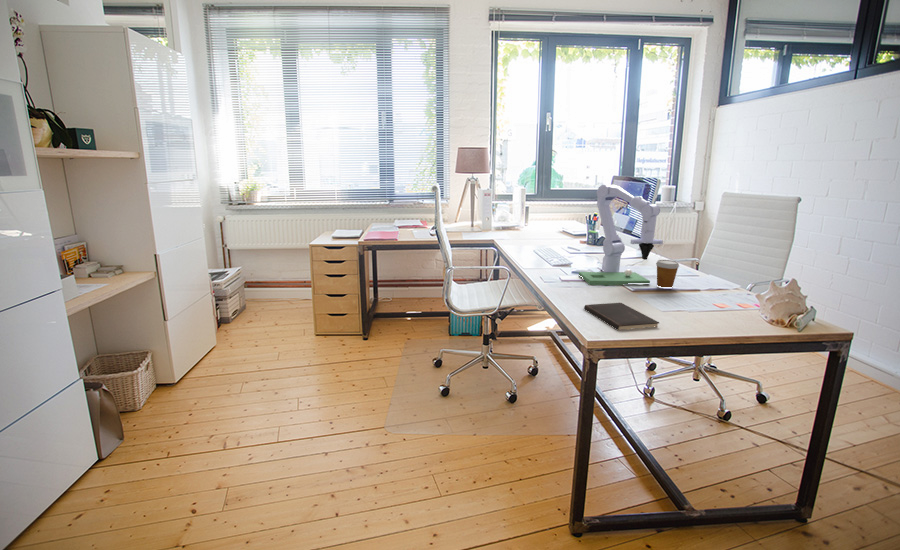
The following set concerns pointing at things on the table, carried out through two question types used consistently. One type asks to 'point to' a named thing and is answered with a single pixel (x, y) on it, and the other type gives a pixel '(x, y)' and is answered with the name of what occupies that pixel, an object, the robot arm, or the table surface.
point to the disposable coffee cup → (666, 272)
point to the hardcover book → (620, 316)
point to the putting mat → (612, 278)
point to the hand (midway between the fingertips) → (644, 259)
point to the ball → (628, 272)
